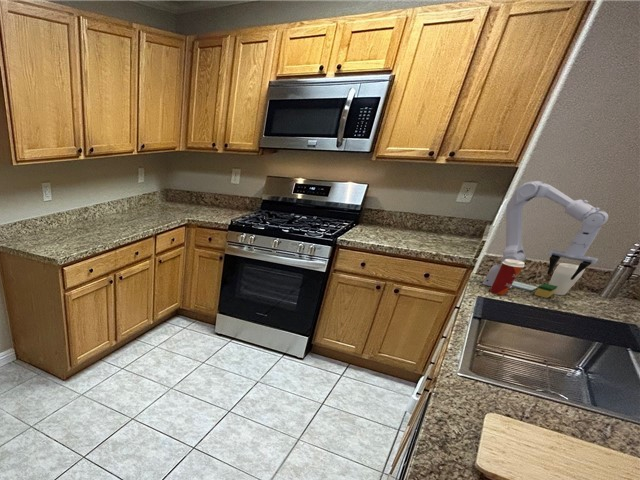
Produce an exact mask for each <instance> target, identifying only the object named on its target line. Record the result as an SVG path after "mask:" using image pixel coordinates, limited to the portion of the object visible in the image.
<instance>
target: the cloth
mask: <svg viewBox="0 0 640 480" xmlns="http://www.w3.org/2000/svg"><path fill="white" fill-rule="evenodd" d="M511 286H512V288H517V289H519V290H524V291H528V292H532V291H534V290H535V291H536V290H537V289H538V286H535V285H531V284H527V283H523V282H520V281H516V280H514V282H513V283H512V285H511Z"/></svg>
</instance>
